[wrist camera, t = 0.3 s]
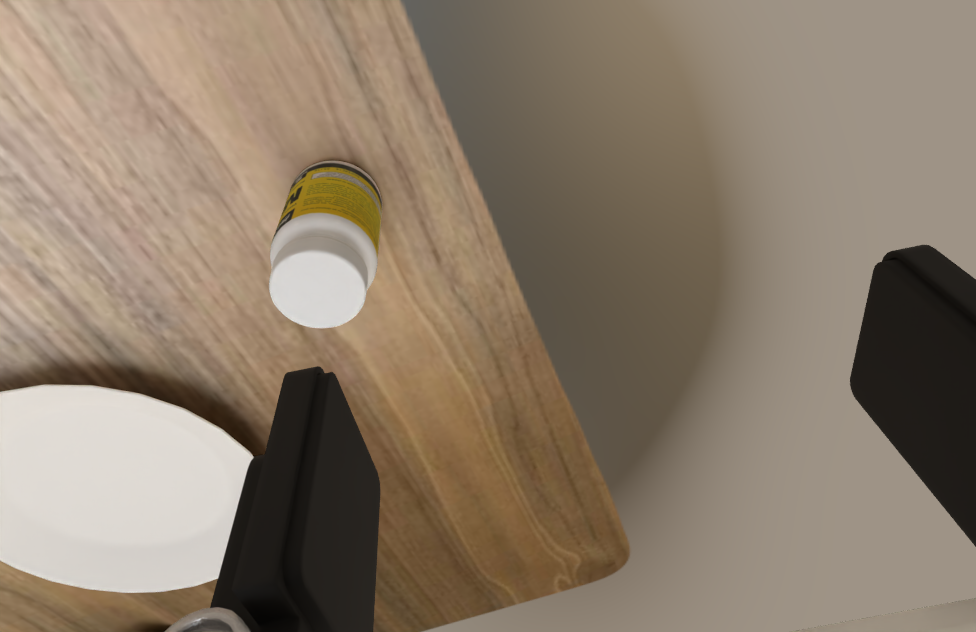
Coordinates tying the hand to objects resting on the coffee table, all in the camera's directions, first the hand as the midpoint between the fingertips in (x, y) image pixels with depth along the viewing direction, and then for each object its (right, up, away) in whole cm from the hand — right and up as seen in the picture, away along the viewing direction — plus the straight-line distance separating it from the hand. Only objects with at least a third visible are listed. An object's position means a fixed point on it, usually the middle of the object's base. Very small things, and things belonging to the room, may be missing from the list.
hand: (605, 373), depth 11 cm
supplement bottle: (-10, +7, +22) cm, 25 cm away
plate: (-27, -10, +33) cm, 44 cm away
